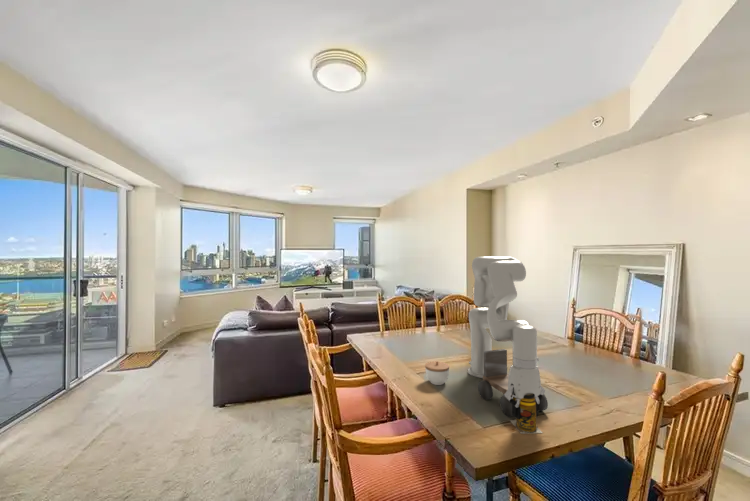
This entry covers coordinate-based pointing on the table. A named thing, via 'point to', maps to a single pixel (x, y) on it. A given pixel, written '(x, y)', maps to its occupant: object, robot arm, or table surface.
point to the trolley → (499, 380)
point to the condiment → (527, 415)
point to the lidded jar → (437, 372)
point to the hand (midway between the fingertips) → (525, 415)
